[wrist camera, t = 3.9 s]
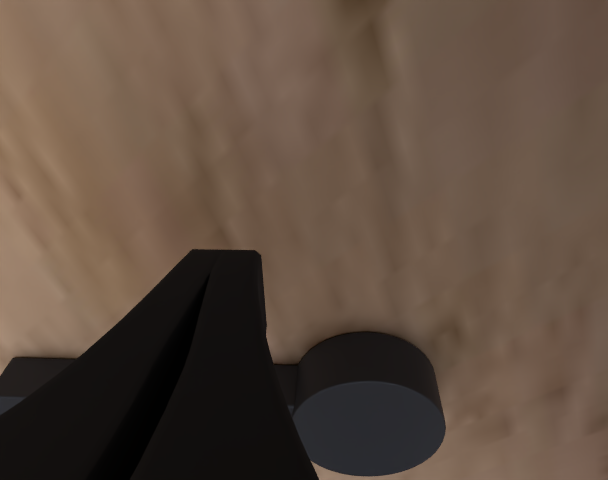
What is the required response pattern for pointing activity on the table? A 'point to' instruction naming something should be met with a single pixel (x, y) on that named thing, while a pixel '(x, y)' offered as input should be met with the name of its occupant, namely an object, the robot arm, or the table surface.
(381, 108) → the table surface
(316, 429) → the coffee scoop
